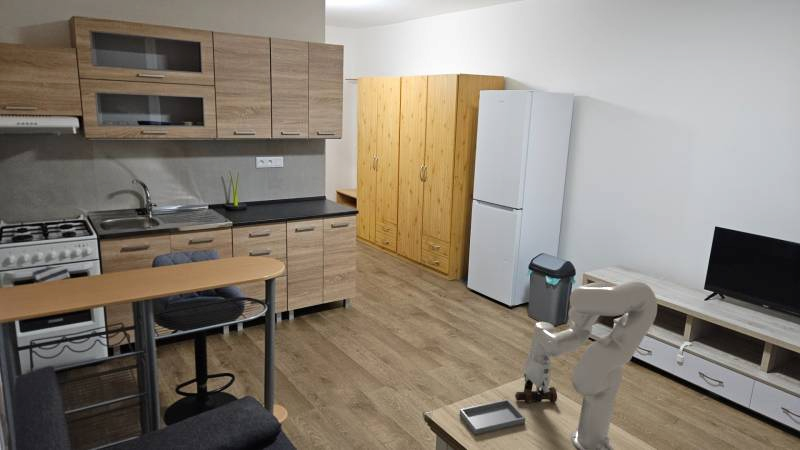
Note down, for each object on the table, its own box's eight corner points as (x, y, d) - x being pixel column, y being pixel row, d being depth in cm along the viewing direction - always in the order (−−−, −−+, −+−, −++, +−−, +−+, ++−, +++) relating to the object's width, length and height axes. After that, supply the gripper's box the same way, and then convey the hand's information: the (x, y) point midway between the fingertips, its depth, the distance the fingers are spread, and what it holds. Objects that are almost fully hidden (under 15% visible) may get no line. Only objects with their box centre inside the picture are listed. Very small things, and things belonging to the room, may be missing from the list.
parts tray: (524, 423, 185) (525, 417, 185) (475, 435, 178) (475, 429, 177) (507, 404, 195) (507, 399, 195) (459, 415, 188) (460, 409, 187)
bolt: (514, 401, 200) (552, 399, 202) (518, 406, 195) (557, 404, 197) (513, 386, 200) (552, 384, 201) (518, 391, 195) (557, 389, 196)
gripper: (563, 366, 187) (554, 408, 192) (534, 341, 202) (527, 381, 207) (545, 369, 184) (537, 412, 190) (518, 344, 199) (511, 384, 205)
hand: (532, 395), depth 199 cm, fingers closed on bolt, 5 cm apart
